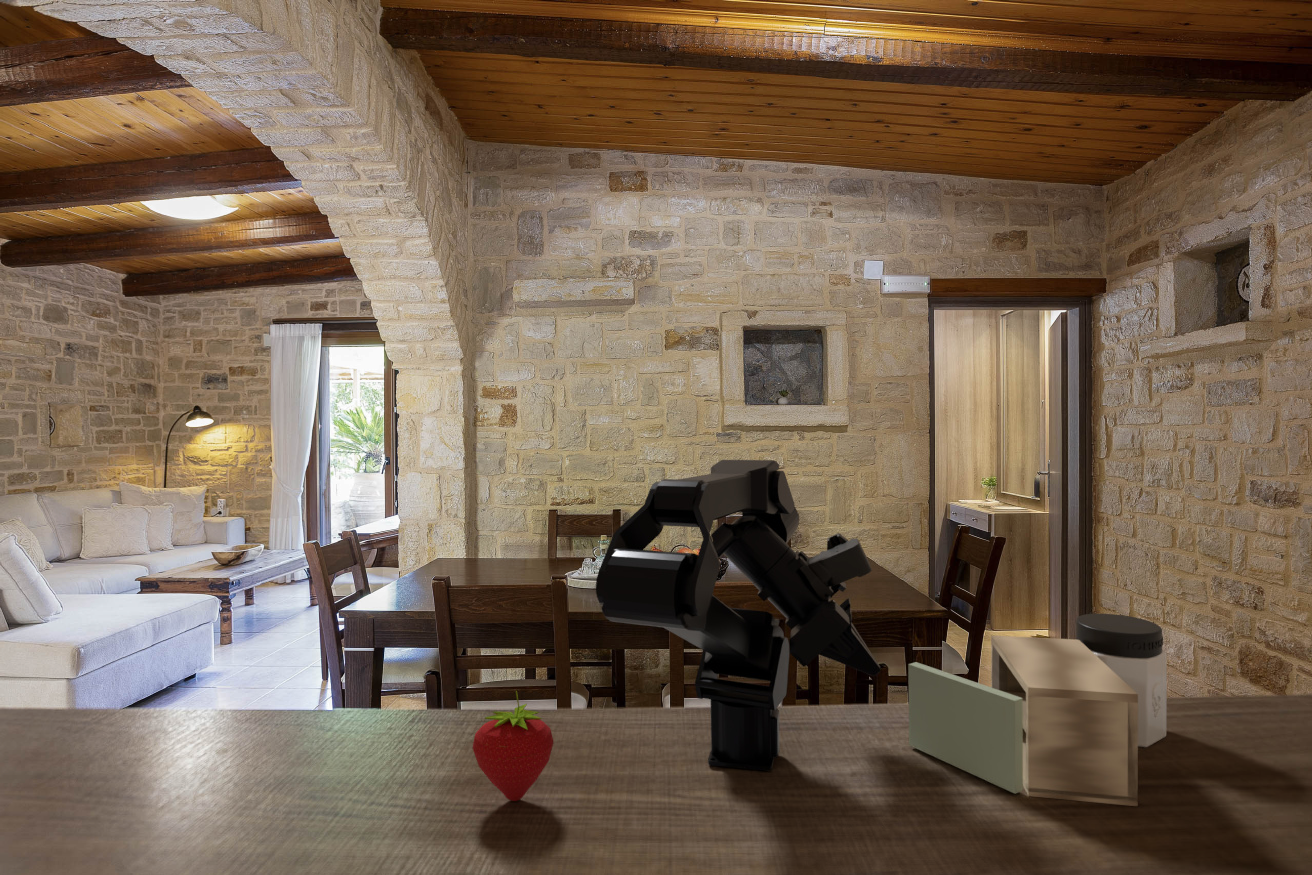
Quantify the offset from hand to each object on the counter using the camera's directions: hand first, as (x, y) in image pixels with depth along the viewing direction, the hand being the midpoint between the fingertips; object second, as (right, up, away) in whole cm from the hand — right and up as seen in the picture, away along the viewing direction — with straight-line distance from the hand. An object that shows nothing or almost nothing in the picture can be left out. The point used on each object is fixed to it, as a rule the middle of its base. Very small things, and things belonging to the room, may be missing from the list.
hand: (877, 672), depth 78 cm
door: (+7, -8, -4) cm, 12 cm away
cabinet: (+17, -8, -3) cm, 19 cm away
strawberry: (-37, -9, -9) cm, 39 cm away
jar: (+28, -8, +4) cm, 29 cm away
